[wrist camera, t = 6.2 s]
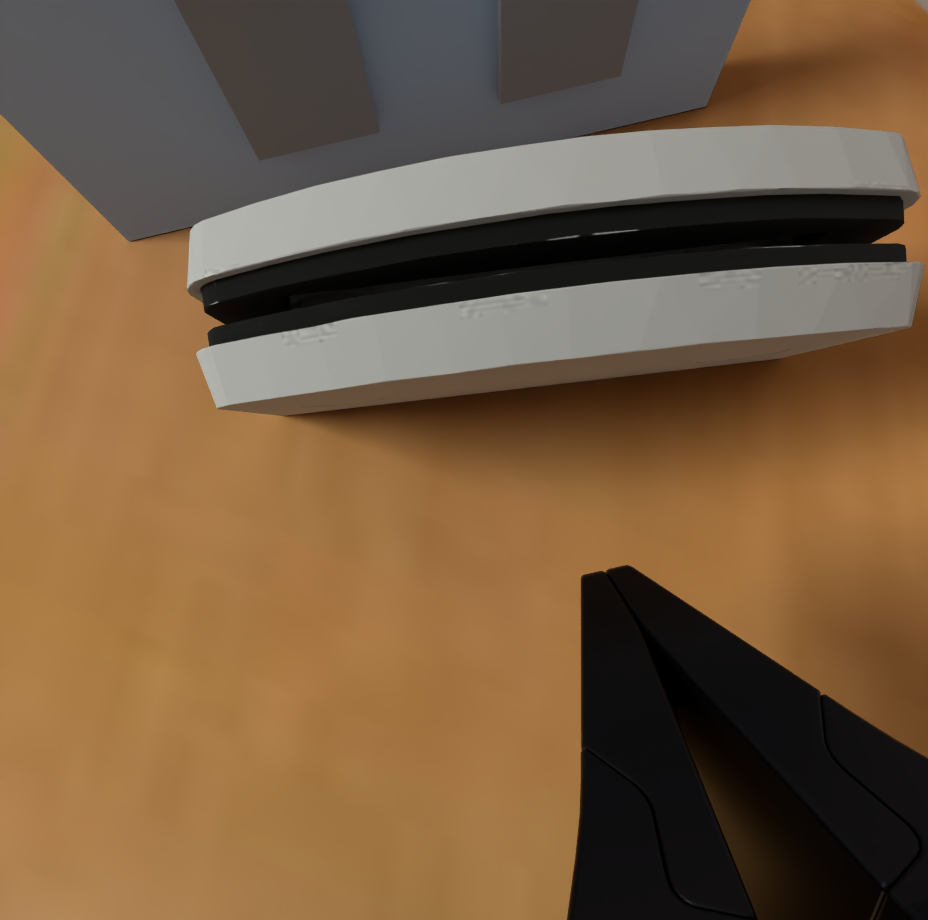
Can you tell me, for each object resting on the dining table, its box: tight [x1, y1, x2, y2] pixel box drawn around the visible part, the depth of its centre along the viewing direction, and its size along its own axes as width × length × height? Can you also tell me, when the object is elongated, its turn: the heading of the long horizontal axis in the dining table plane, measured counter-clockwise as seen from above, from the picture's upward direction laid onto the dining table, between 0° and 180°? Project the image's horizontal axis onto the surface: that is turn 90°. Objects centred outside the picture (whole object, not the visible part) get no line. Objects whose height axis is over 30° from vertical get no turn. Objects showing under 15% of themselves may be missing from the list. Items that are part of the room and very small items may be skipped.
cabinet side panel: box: [0, 0, 750, 241], centre depth 15 cm, size 2×22×10 cm, turn 103°
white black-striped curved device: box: [187, 125, 925, 416], centre depth 14 cm, size 17×5×10 cm, turn 96°
